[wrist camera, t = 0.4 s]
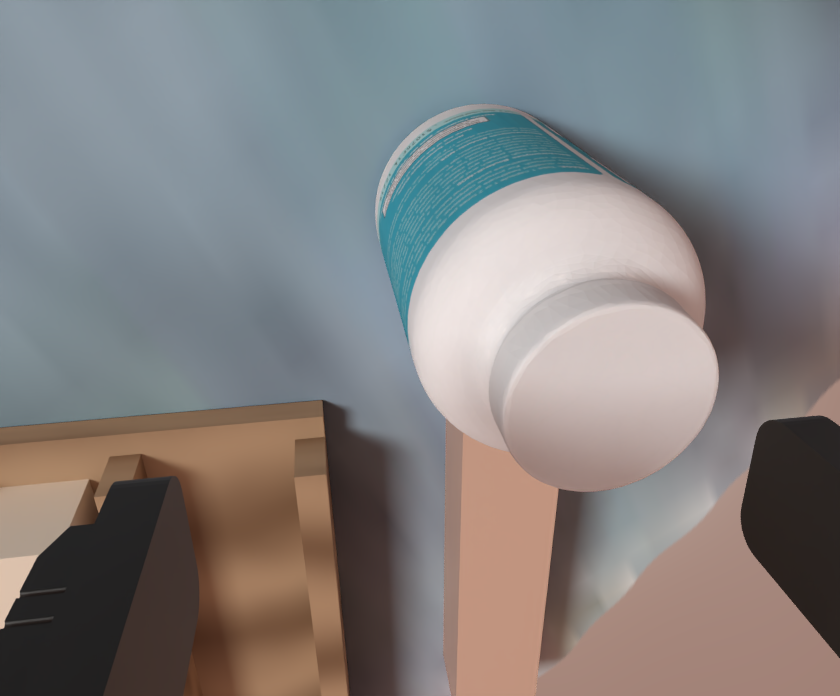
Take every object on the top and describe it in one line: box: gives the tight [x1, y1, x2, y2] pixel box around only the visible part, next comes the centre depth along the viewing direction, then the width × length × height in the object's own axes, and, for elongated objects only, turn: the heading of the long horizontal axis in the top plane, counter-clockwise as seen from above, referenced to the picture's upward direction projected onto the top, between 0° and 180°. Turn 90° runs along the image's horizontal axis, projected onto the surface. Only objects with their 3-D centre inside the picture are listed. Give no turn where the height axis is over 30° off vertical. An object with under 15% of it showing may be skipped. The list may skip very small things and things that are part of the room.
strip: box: [0, 479, 99, 629], centre depth 31 cm, size 18×4×4 cm, turn 1°
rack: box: [0, 400, 350, 696], centre depth 32 cm, size 22×16×4 cm
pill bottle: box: [375, 104, 719, 492], centre depth 20 cm, size 8×7×14 cm
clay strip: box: [443, 419, 559, 696], centre depth 33 cm, size 18×4×4 cm, turn 1°
